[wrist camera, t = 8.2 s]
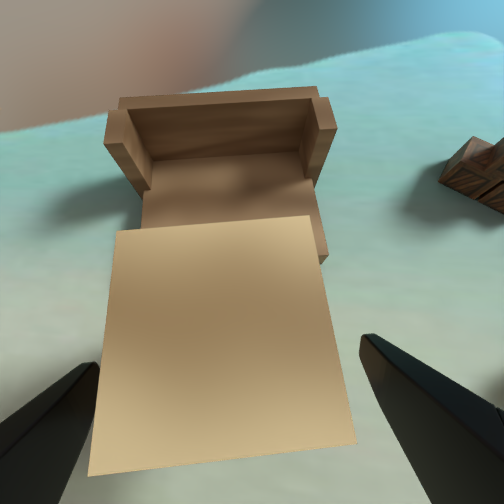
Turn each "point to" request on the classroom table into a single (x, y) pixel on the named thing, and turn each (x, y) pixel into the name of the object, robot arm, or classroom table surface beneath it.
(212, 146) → the brown toy sofa
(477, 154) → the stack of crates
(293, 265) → the oak block
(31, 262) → the classroom table surface
